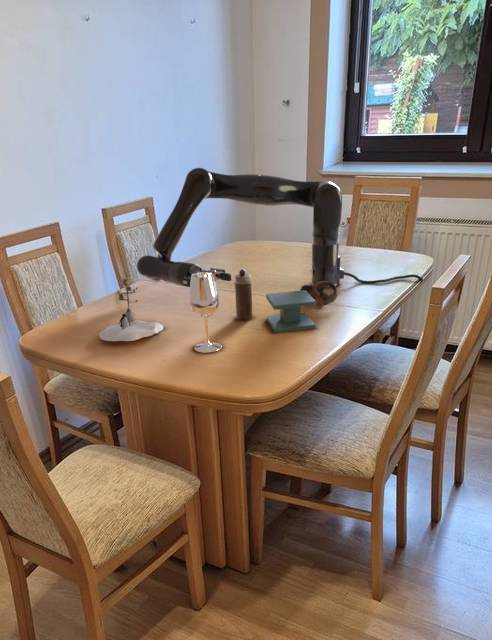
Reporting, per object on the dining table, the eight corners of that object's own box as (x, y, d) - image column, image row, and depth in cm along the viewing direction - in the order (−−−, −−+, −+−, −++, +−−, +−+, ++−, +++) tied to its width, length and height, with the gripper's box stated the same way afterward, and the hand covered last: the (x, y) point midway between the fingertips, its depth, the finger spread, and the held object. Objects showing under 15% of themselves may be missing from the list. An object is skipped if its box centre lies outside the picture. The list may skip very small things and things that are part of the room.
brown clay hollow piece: (335, 300, 191) (341, 281, 184) (330, 320, 186) (336, 302, 179) (300, 291, 191) (305, 272, 184) (294, 311, 187) (299, 293, 180)
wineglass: (193, 344, 163) (186, 272, 153) (221, 341, 163) (215, 269, 153) (194, 354, 156) (187, 279, 146) (223, 351, 156) (218, 277, 146)
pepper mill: (251, 314, 182) (249, 266, 174) (254, 319, 178) (252, 270, 170) (235, 316, 182) (232, 268, 174) (237, 321, 177) (235, 272, 170)
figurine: (143, 345, 161) (136, 285, 154) (87, 342, 167) (78, 284, 160) (173, 328, 178) (169, 274, 171) (121, 326, 184) (115, 273, 177)
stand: (305, 315, 178) (305, 289, 174) (315, 328, 167) (315, 301, 163) (266, 320, 177) (265, 293, 173) (274, 333, 166) (274, 305, 162)
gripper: (167, 267, 183) (204, 274, 174) (199, 257, 192) (235, 263, 182) (170, 291, 187) (206, 298, 177) (201, 280, 196) (237, 287, 186)
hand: (221, 280), depth 180 cm, fingers open, 8 cm apart
